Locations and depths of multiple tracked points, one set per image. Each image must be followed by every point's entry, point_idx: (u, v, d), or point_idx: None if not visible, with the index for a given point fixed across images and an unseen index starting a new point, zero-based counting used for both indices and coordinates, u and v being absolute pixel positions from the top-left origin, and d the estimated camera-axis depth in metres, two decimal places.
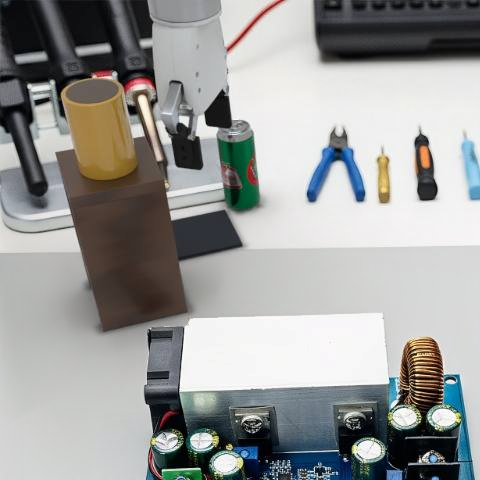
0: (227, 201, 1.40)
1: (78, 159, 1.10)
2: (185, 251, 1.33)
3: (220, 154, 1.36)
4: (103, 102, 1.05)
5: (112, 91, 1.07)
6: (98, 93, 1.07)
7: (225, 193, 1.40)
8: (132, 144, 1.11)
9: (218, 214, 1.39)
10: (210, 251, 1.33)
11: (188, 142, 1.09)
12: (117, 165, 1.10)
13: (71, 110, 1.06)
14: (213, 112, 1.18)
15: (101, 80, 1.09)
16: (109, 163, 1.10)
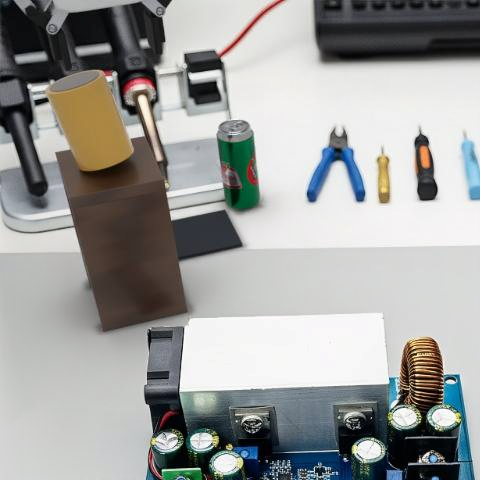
0: (227, 201, 1.40)
1: (73, 154, 1.10)
2: (185, 251, 1.33)
3: (220, 154, 1.36)
4: (82, 85, 1.05)
5: (93, 77, 1.07)
6: (80, 81, 1.07)
7: (225, 193, 1.40)
8: (123, 129, 1.10)
9: (218, 214, 1.39)
10: (210, 251, 1.33)
11: (50, 34, 1.00)
12: (111, 151, 1.09)
13: (54, 100, 1.06)
14: (148, 30, 1.06)
15: (84, 72, 1.09)
16: (102, 149, 1.09)
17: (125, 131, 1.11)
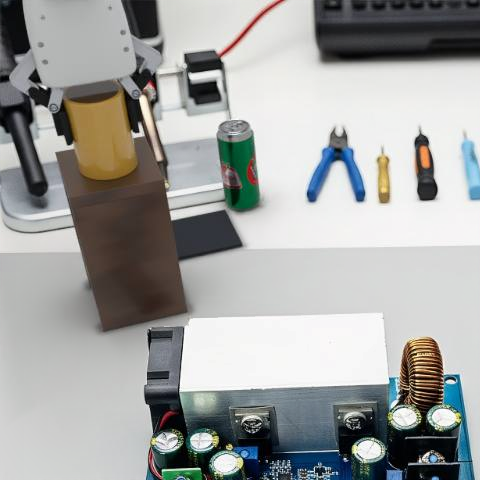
0: (227, 201, 1.40)
1: (79, 159, 1.10)
2: (185, 251, 1.33)
3: (220, 154, 1.36)
4: (103, 102, 1.05)
5: (112, 91, 1.07)
6: (98, 92, 1.07)
7: (225, 193, 1.40)
8: (132, 143, 1.11)
9: (218, 214, 1.39)
10: (210, 251, 1.33)
11: (52, 112, 1.06)
12: (118, 165, 1.10)
13: (71, 110, 1.06)
14: None
15: None
16: (110, 163, 1.10)
17: (133, 145, 1.12)
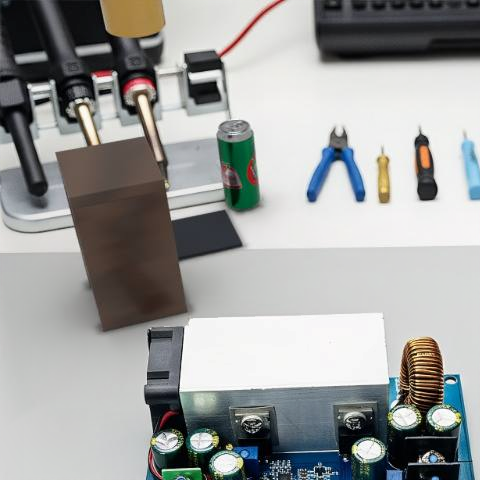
0: (227, 201, 1.40)
1: (105, 16, 1.07)
2: (185, 251, 1.33)
3: (220, 154, 1.36)
4: None
5: None
6: None
7: (225, 193, 1.40)
8: (160, 1, 1.08)
9: (218, 214, 1.39)
10: (210, 251, 1.33)
11: None
12: (146, 22, 1.07)
13: None
14: None
15: None
16: (138, 18, 1.07)
17: (161, 2, 1.09)
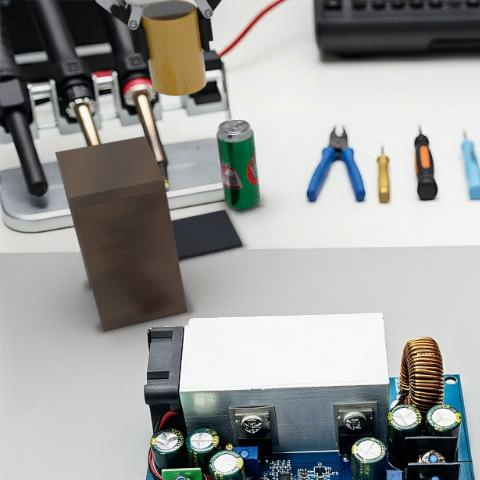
0: (227, 201, 1.40)
1: (153, 76, 1.18)
2: (185, 251, 1.33)
3: (220, 154, 1.36)
4: (179, 19, 1.13)
5: (187, 10, 1.15)
6: (174, 11, 1.15)
7: (225, 193, 1.40)
8: (203, 62, 1.19)
9: (218, 214, 1.39)
10: (210, 251, 1.33)
11: (131, 30, 1.14)
12: (190, 81, 1.18)
13: (149, 27, 1.13)
14: None
15: (174, 1, 1.17)
16: (183, 79, 1.18)
17: (203, 63, 1.20)
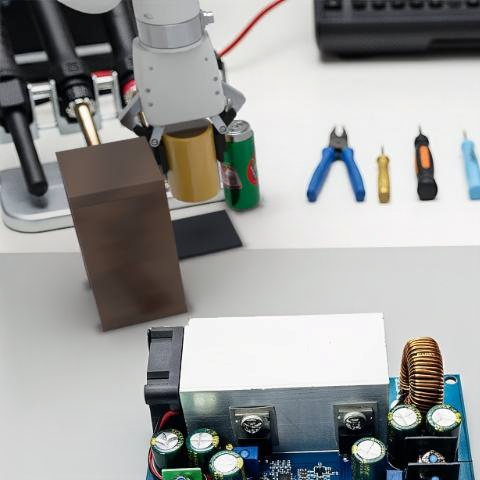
0: (227, 201, 1.40)
1: (172, 185, 1.28)
2: (185, 251, 1.33)
3: None
4: (197, 137, 1.23)
5: (203, 127, 1.25)
6: (191, 129, 1.25)
7: (225, 193, 1.40)
8: (218, 171, 1.29)
9: (218, 214, 1.39)
10: (210, 251, 1.33)
11: (152, 146, 1.24)
12: (206, 190, 1.28)
13: (169, 144, 1.24)
14: None
15: None
16: (200, 188, 1.28)
17: (218, 172, 1.30)
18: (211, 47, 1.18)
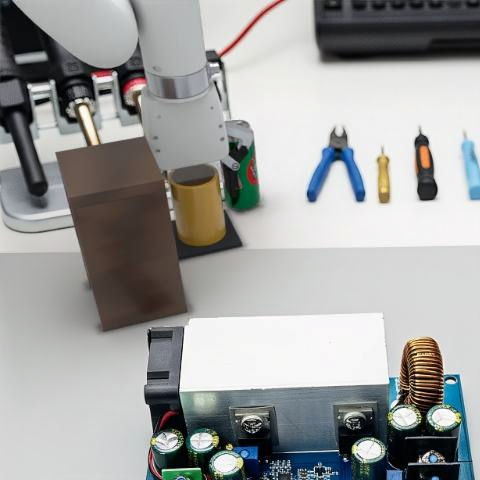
0: (227, 201, 1.40)
1: (179, 229, 1.33)
2: (185, 251, 1.33)
3: None
4: (204, 185, 1.28)
5: (210, 175, 1.30)
6: (198, 176, 1.30)
7: (225, 193, 1.40)
8: (223, 216, 1.34)
9: None
10: (210, 251, 1.33)
11: None
12: (212, 234, 1.33)
13: (177, 191, 1.28)
14: (225, 178, 1.32)
15: None
16: (206, 232, 1.32)
17: None
18: (217, 96, 1.22)
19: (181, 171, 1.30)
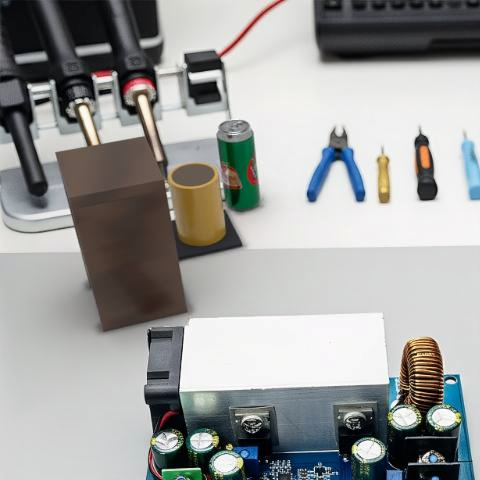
0: (227, 201, 1.40)
1: (179, 229, 1.33)
2: (185, 251, 1.33)
3: (220, 154, 1.36)
4: (204, 185, 1.28)
5: (210, 175, 1.30)
6: (198, 176, 1.30)
7: (225, 193, 1.40)
8: (223, 216, 1.34)
9: None
10: (210, 251, 1.33)
11: None
12: (212, 234, 1.33)
13: (177, 191, 1.28)
14: None
15: (199, 164, 1.32)
16: (206, 232, 1.32)
17: None
18: None
19: (181, 171, 1.30)
